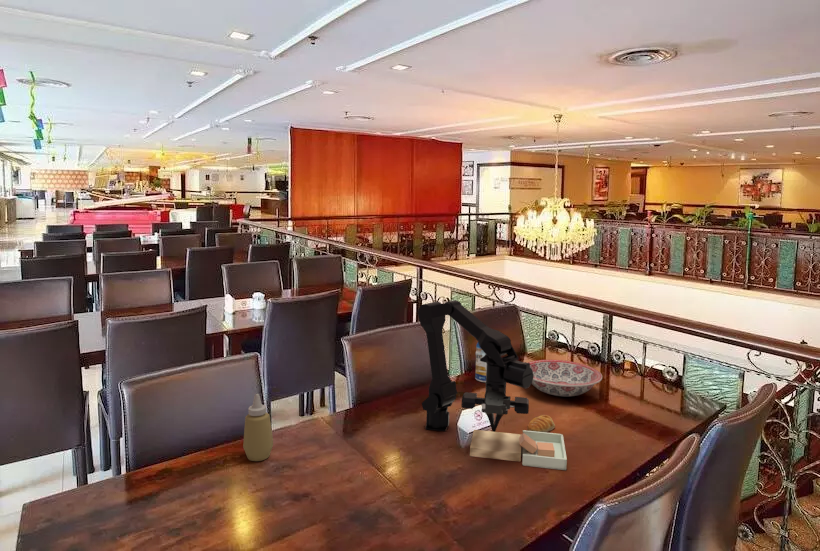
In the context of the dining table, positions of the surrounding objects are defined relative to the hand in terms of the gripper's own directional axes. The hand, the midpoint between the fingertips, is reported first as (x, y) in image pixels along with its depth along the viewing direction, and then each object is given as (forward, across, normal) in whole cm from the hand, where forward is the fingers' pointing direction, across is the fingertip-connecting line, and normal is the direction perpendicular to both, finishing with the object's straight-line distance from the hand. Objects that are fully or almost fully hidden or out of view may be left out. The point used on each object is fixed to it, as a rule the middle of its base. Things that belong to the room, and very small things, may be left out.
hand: (493, 431), depth 158 cm
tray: (+5, +14, 0) cm, 15 cm away
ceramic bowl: (+6, +22, +52) cm, 57 cm away
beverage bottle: (+6, -6, +59) cm, 60 cm away
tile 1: (+4, +9, +1) cm, 10 cm away
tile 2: (+3, +15, 0) cm, 15 cm away
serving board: (+5, +1, 0) cm, 5 cm away
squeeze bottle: (+6, -63, -20) cm, 67 cm away
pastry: (+6, +14, +17) cm, 23 cm away
